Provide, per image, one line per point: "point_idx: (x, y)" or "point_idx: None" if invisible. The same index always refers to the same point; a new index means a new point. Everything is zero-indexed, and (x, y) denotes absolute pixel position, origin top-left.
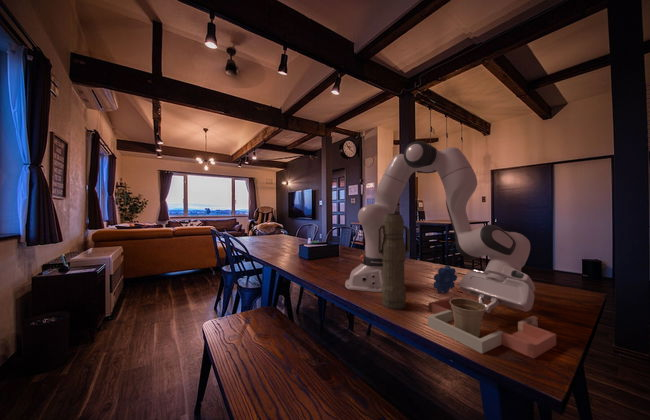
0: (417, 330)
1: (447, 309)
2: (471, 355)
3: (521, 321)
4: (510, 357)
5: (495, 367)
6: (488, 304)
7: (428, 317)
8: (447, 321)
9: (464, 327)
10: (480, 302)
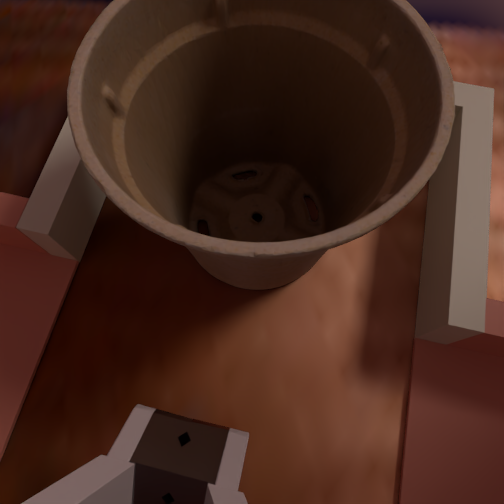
0: (455, 52)
1: (495, 327)
2: None
3: None
4: (17, 131)
5: (68, 19)
6: (117, 468)
7: (483, 91)
8: (420, 281)
9: (245, 114)
10: (228, 488)
